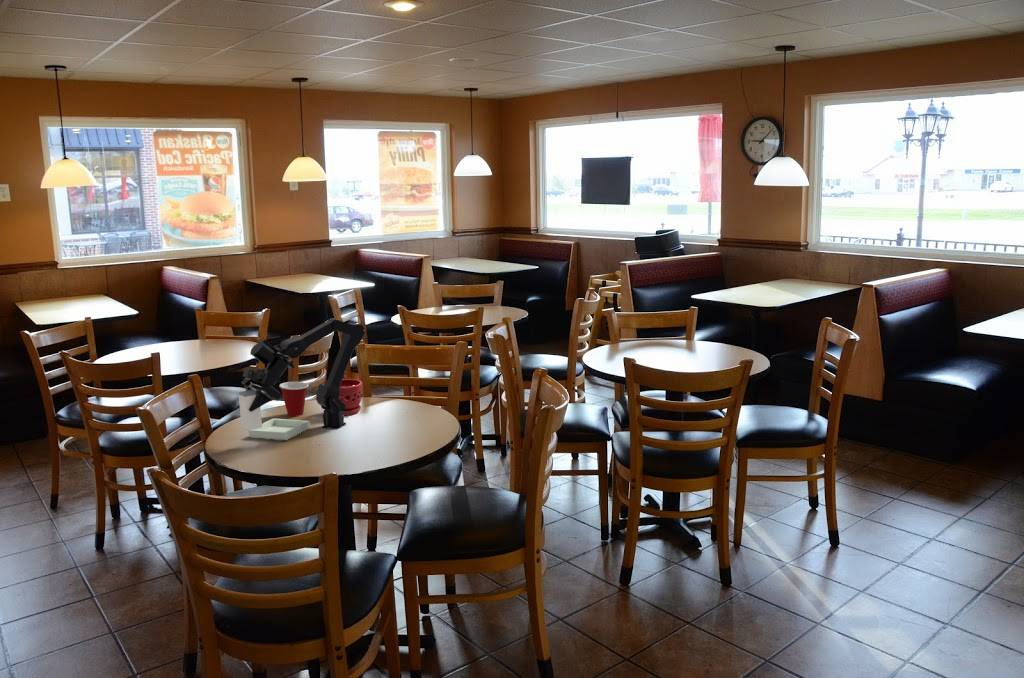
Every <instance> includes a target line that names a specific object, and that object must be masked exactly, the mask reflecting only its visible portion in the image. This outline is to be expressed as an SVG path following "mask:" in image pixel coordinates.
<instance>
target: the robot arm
mask: <svg viewBox="0 0 1024 678" xmlns="http://www.w3.org/2000/svg"><path fill="white" fill-rule="evenodd" d="M336 331H337V332H339V333H341V334H340V340H341V341H340V342H341V343H340V344H341V345H340V346H339V350H338V352H337V355H336V358H335V360H334V363H333V365H332V369H330V373H329V376H328V378H327V380H326V382H325V383H324V384H322V383H319V385H318V388H317V391H316V392H315V395H316V396H315V400H316V402H317V404H318V405H320V408H321V409H322V410H323V414H322V423H323V425H322V427H321V428H322V429H336V430H337V429H340V428H342V427H344V426H345V425H347V422H345V421H344V420H345V419H344V415H343V411H344V410H345V406H346V405H345V404H344V403H342V402H341V401H340V400H339V398H340V384H341V381H342V379H344V376H345V373H346V371H347V368H348V367H349V363H350V361H351V357H352V354H353V353H354V350H355V349H356V348H357V346H359V344H361V342H362V340H363V338H364V337H365V336H366V335H365V334H366V330H365V327H364V326H363V325H362V324H358V323H355V322H344V321H342V320H340V319H339V318H333V317H331V318H329V319H327V321H324V322H323V323H320V324H319V325H317V326H315V327H314V328H312V329H309V331H306V332H305V333H303V334H302V335H298V336H295V337H290V338H286V339H284V340H283V341H281V342H280V344H277V345H274V346H273V345H272V344H270V342H269V341H268V340H266V339H265V338H262V339H261V340H260V341H258V342H257V343H256V344H254V345H253V346H252V348H251V349H250V351H249V352H250V353H249V354H250V355H251V356H252V357H254V359H256V360H258V362H261V363H262V364H263V365H266V364H267V366H266V367H265V368H257V367H255V369H252V368H249V367H245V368H244V371H243V374H242V377H243V379H242V381H241V384H242V385H244V388H245V391H246V390H251V389H252V390H255V391H256V397H255V399H254V401H253V403H252V404H251V406H250V408H249V411H250V412H252V411H254V410H255V409H257V408H259V407H260V408H261V407H262V406H264V405H265V404H268V403H270V402H272V401H273V400H275V401H277V402H278V401H280V398H281V397H282V392H280V391H279V390H278V389H277V388H275V387H274V386H275V385H276V383H280V382H281V381H282V379H281V376H282V375H283V374H284V373H285V371H286V369H287V368H290V369H295V365H294V360H293V359H297V358H298V357H300V356H302V354H303V353H305V351H306V350H307V349H308V347H310V346H312V345H313V344H315V343H316V342H318V341H320V340H321V339H324V338H325V337H327V336H329V335H330V334H333V333H334V332H336ZM278 354H279V355H278ZM280 355H281V356H280ZM288 358H291V359H288Z"/></svg>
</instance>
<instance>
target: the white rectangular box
mask: <svg viewBox="0 0 1024 678" xmlns="http://www.w3.org/2000/svg"><path fill="white" fill-rule="evenodd" d="M237 395H238V403H239V413H240V423H241V429H244V430H246V431H248V432H249V430H253V429H257V428H262V424H263V422H262V421H263V420H262V411H261V406H260V407H259V408H257V409H255V410H254V411H252V412H250V411H249V408H250V406H251V404H252V403H253V401H254V399H255V397H256V391H255V390H252V389H251V390H246V389H245V390H243V391H238V394H237Z"/></svg>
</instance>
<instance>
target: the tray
mask: <svg viewBox="0 0 1024 678" xmlns="http://www.w3.org/2000/svg"><path fill="white" fill-rule="evenodd" d="M310 427H311V426H310V420H299V419H286V418H271V419H269V420H267V421H265V422H262V428H257V429H253V430H249V431H248V437H251V438H250V439H258V438H265V439H264V440H270V439H275V440H274V441H282V440H287V441H288V439H289V440H290V438H291V439H293V438H294V437H296V436H298V435H300V434H302V433H303V431H304V432H305V430H306V431H307V429H308V430H309V428H310ZM301 432H302V433H301ZM299 433H300V434H299ZM297 434H298V435H297ZM292 437H293V438H292Z"/></svg>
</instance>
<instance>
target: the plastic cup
mask: <svg viewBox="0 0 1024 678" xmlns="http://www.w3.org/2000/svg"><path fill="white" fill-rule="evenodd" d="M308 387H309V384H308V383H307V382H303V381H287V382H283V383H282V382H281V383H280V384H279V388H280V390H281V395H282V396H283V397H282V398H283V401H284V406H285V408H286V412H287V416H289V417H299V415H300V416H302V415H304V411H305V404H306V403H305V402H306V396H307V395H306V394H307V390H308Z"/></svg>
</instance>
